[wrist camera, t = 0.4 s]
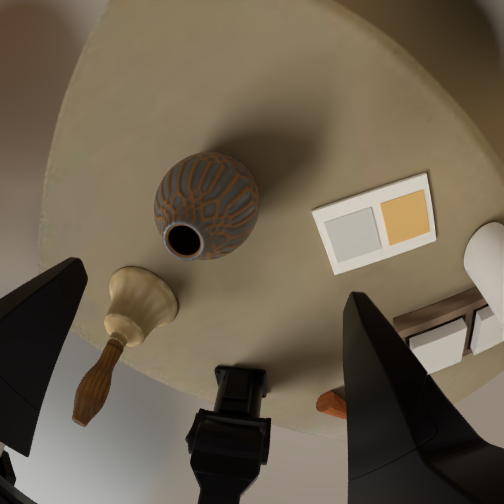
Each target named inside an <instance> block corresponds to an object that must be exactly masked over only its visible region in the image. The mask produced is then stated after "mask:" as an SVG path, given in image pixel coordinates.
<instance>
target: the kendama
mask: <svg viewBox="0 0 504 504" xmlns="http://www.w3.org/2000/svg"><path fill="white" fill-rule="evenodd" d="M316 408H317V410H318V411H319V412H322V413H326V414H329V415H332V416H336V417H339V418H343V419H346V420H347V414H346V402H345V401H344V400H343V399H341V398H340V397H339V396H337V395H336V394H335V393H333V392H332V391H328V392H326V393H324V394H322V395H321V396H320V397H319V399H318V401H317V403H316Z"/></svg>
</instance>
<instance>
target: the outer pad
mask: <svg viewBox="0 0 504 504" xmlns="http://www.w3.org/2000/svg"><path fill="white" fill-rule="evenodd" d="M502 341H504V329H503V328H502V326H501V324H500V323H499V321H498V319H497V318H496V316H495V314H494V313H493V311H492V309H491V308H490V306H487V307H485V308H483V309H481V310H479V311H477V312H476V319H475V325H474V330H473V336H472V341H471V345H470V347H471V349H472V351H473V354H474V355H476V354H478V353H480V352H482V351H484V350H486V349H489V348H491V347H493V346H494V345H496V344H498V343H500V342H502Z"/></svg>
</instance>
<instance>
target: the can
mask: <svg viewBox="0 0 504 504" xmlns="http://www.w3.org/2000/svg"><path fill="white" fill-rule="evenodd" d="M464 267H465V270H466V272H467V273H468V275H469V276H470V278H471V279H472V281H473V282H474V284H475V285H476V286H477V288H478V289H479V291H480V292H481V294H482V295H483V297H484V298H485V300H486V302H487V303H488V305H489V306H490V308H491V309H492V311H493V313H494V314H495V316H496V318H497V319H498V321H499V323H500V324H501V326H502V328H503V329H504V226H503V225H502V224H500V223H497V222H492V223H488V224H486V225H484V226H482V227H480V228H479V229H478V230H477V231H476V232H475V233H474V234H473V235H472V237H471V238H470V240H469V242H468V244H467V247H466V250H465V255H464Z"/></svg>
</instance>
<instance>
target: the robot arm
mask: <svg viewBox="0 0 504 504" xmlns="http://www.w3.org/2000/svg"><path fill="white" fill-rule="evenodd" d="M87 281H88V276H87V273H86V271H85V268H84V265H83V263H82V261H81V259H79V258H75V257H70V258H68V259H66V260H64V261H63V262H61V263H59V264H57V265H56V266H54V267H52V268H50V269H48V270H47V271H45V272H43V273H42V274H40V275H38V276H36V277H35V278H33V279H31V280H30V281H28V282H26V283H25V284H23V285H21V286H20V287H18V288H17V289H15V290H13V291H12V292H10V293H9V294H7V295H5V296H4V297H3V298H1V299H0V504H37V503H35V502H34V501H33V500H31V499H30V498H28V497H27V496H26V495H24V494H23V493H22V492H20V491H19V490H17V489H16V488H15V487H14V484H15V481H16V477H15V474H14V471H13V467H12V464H11V461H10V457H9V454H8V452H6V451H5V450H4V447H5V445H6V446H8V447H10V448H12V449H13V450H15V451H17V452H19V453H20V454H22V455H24V456H26V457H28V456H29V454H30V449H31V445H32V440H33V436H34V432H35V428H36V424H37V421H38V417H39V413H40V412H39V411H40V409H41V406H42V403H43V399H44V396H45V393H46V390H47V387H48V384H49V381H50V378H51V375H52V372H53V370H54V367H55V364H56V361H57V359H58V356H59V354H60V351H61V349H62V346H63V343H64V341H65V339H66V336H67V334H68V332H69V329H70V327H71V325H72V322H73V320H74V318H75V315H76V312H77V309H78V306H79V303H80V301H81V298H82V295H83V292H84V290H85V287H86V284H87ZM343 372H344V384H345V398H346V414H347V435H348V504H504V448H501V447H498V446H495V445H492V444H490V443H488V442H486V441H485V440H483V439H482V438H481V437H480V436H479V435H478V434H477V433H476V432H475V430H474V429H473V428H472V427H471V426H470V424H469V423H468V422H467V421H466V420H465V419H464V417H463V416H462V415H461V414H460V413H459V411H458V410H457V409H456V408H455V407H454V406H453V404H452V403H451V402H450V401H449V399H448V398H447V397H446V396H445V395H444V393H443V392H442V391H441V389H440V388H439V387H438V385H437V384H436V383H435V381H434V380H433V379H432V377H431V376H430V375H429V374H428V372H427V371H426V369H425V368H424V367H423V365H422V364H421V363H420V361H419V360H418V359H417V357H416V356H415V355H414V353H413V352H412V351H411V349H410V348H409V347H408V345H407V344H406V343H405V342H404V340H403V339H402V338H401V337H400V335H399V334H398V333H397V331H396V330H395V329H394V328H393V326H392V325H391V324H390V323H389V321H388V320H387V319H386V318H385V317H384V315H383V314H382V313H381V312H380V310H379V309H378V308H377V307H376V306H375V304H374V303H373V302H372V301H371V299H370V298H369V297H368V296H367V295H366V294H365V293H364V292H357V291H353V292H351V293H350V295H349V298H348V300H347V303H346V306H345V308H344V312H343ZM215 375H216V379H217V383H218V386H219V388H218V393H217V397H216V402H215V406H214V411H208V410H204V409H201V408H200V410H199V412H198V413H196V416H195V420H194V423H193V425H192V427H191V429H190V431H189V433H188V435H187V436H186V442H187V443H188V450H189V454H192V455H191V460H190V464H191V467H192V470H193V472H194V475H195V477H196V479H197V481H198V484H199V486H200V495H199V499H198V504H239V501H240V497H241V496H242V495H243V494H244V493H245V492H246V491H247V490H248V489H249V488H250V487H251V485H252V484H253V483H254V482H255V481H256V480H257V477H258V475H259V472H260V466H261V465H266V464H267V460H268V454H269V446H270V430H271V418H259V417H260V408H261V400H262V398H265V397H266V394H267V391H266V372H265V371H264V370H250V369H236V368H224V367H216V368H215Z"/></svg>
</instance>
